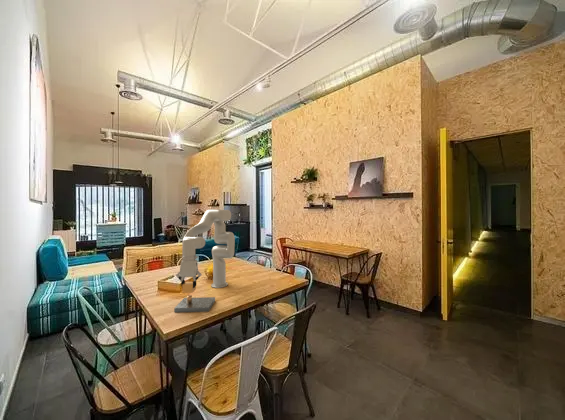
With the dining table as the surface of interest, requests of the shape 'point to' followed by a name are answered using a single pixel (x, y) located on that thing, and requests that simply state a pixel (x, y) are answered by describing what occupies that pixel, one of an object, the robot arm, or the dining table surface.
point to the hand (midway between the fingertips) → (188, 287)
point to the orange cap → (188, 287)
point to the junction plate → (195, 304)
